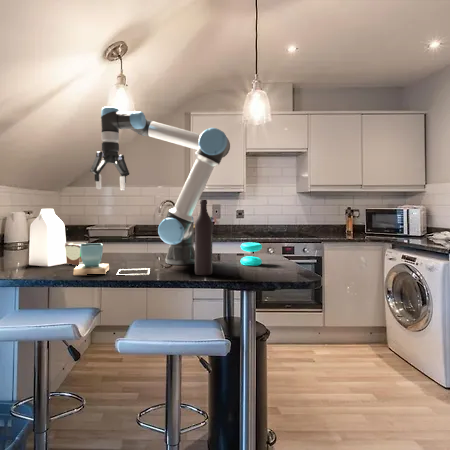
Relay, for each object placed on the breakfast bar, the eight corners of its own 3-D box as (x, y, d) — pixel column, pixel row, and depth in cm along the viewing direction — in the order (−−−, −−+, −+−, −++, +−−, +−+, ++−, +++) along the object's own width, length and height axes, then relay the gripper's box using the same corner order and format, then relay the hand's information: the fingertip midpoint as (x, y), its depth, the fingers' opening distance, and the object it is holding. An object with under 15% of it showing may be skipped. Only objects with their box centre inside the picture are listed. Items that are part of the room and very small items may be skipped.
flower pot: (79, 265, 160) (79, 243, 159) (101, 263, 163) (101, 242, 162) (80, 268, 152) (79, 245, 151) (103, 267, 155) (103, 245, 154)
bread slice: (108, 269, 165) (108, 263, 164) (105, 274, 153) (105, 267, 153) (79, 270, 162) (79, 264, 162) (73, 275, 151) (73, 268, 151)
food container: (92, 264, 179) (92, 243, 178) (81, 266, 174) (81, 244, 173) (75, 262, 185) (75, 241, 185) (64, 263, 180) (64, 242, 180)
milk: (48, 266, 172) (47, 208, 171) (28, 265, 176) (27, 208, 175) (67, 262, 184) (66, 208, 182) (49, 261, 188) (47, 208, 186)
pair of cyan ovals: (257, 245, 172) (237, 244, 177) (257, 267, 173) (237, 265, 177) (265, 243, 181) (245, 242, 186) (264, 263, 182) (245, 262, 186)
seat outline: (149, 269, 165) (149, 268, 165) (149, 274, 152) (149, 273, 152) (119, 270, 163) (119, 269, 163) (116, 275, 150) (116, 274, 150)
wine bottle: (214, 275, 152) (214, 199, 151) (196, 276, 150) (196, 199, 149) (209, 272, 159) (209, 199, 157) (193, 273, 157) (193, 199, 155)
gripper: (125, 146, 185) (126, 190, 186) (81, 139, 164) (82, 188, 165) (136, 145, 181) (137, 190, 182) (92, 137, 160) (93, 188, 161)
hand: (111, 189), depth 174 cm, fingers open, 13 cm apart
